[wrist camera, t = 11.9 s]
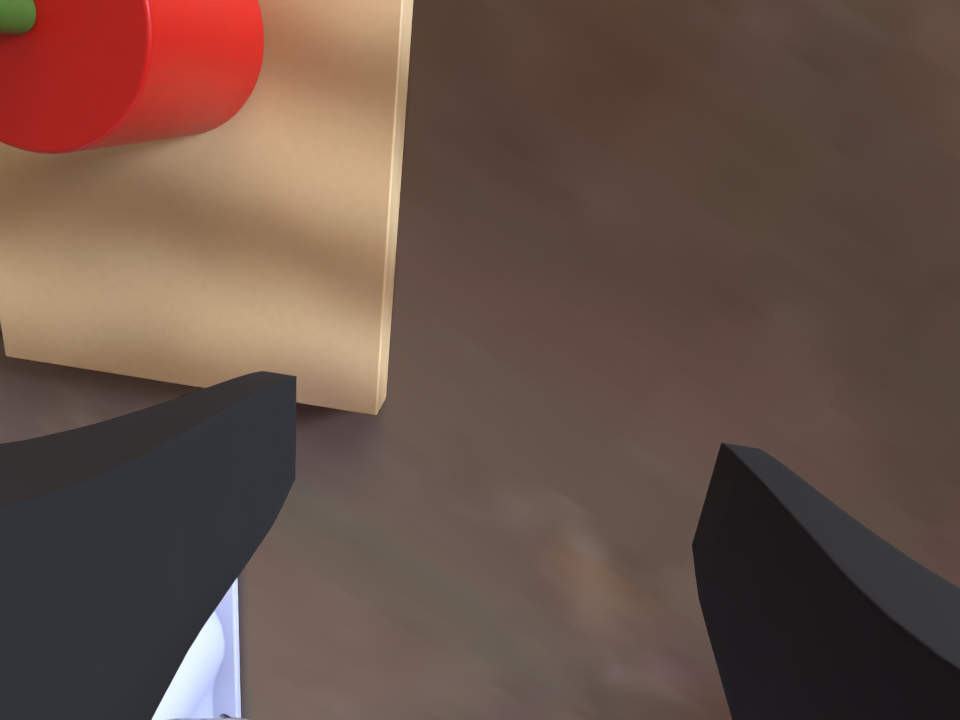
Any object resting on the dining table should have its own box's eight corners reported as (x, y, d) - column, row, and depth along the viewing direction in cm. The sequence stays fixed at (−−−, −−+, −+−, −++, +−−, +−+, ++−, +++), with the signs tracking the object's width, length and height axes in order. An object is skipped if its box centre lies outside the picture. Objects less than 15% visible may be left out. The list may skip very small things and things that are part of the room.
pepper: (265, 147, 18) (116, 180, 12) (80, 122, 19) (-155, 142, 13) (265, -81, 16) (86, -175, 10) (56, -104, 17) (-236, -209, 11)
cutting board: (385, 399, 22) (376, 416, 21) (32, 343, 23) (5, 357, 22) (445, -458, 14) (435, -502, 13) (-91, -498, 15) (-143, -543, 14)
